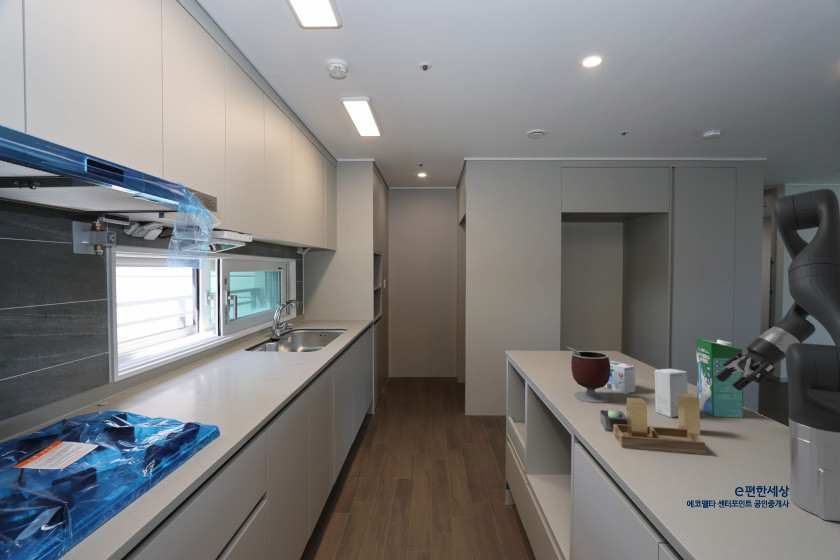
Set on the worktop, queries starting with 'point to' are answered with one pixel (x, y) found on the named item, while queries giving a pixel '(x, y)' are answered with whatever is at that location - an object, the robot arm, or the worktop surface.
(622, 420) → the button housing
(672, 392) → the skincare box
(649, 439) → the tray
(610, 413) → the button
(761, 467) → the worktop surface
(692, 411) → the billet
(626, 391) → the light bulb box
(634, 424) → the billet
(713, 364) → the milk carton
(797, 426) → the robot arm
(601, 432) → the worktop surface
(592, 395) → the mate gourd
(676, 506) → the worktop surface
